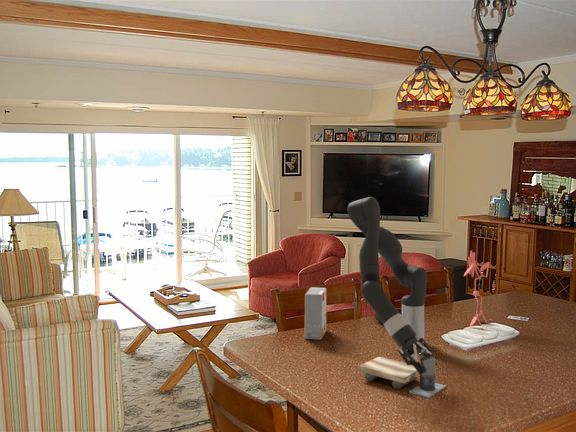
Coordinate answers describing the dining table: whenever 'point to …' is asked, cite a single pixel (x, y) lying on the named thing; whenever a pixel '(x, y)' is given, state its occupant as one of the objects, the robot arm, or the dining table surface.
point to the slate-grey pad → (427, 393)
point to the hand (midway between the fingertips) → (429, 369)
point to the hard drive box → (315, 313)
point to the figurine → (471, 269)
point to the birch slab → (389, 371)
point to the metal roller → (427, 374)
